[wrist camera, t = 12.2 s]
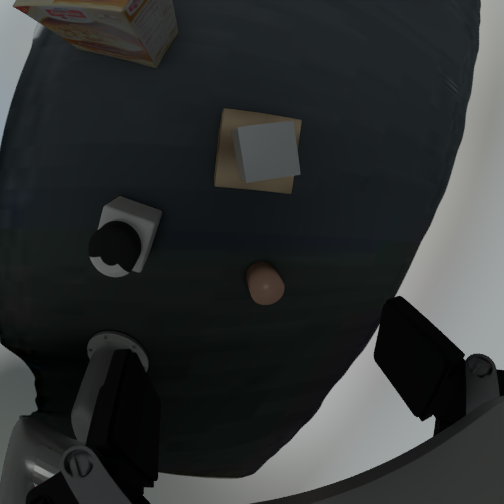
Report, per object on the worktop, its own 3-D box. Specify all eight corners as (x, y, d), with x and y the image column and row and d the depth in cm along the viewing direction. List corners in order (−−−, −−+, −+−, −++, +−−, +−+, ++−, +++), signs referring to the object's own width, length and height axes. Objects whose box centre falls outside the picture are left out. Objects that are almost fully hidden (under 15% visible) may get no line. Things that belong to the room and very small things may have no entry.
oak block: (281, 188, 41) (291, 193, 36) (213, 181, 38) (214, 186, 34) (290, 123, 37) (301, 120, 32) (221, 113, 35) (224, 108, 30)
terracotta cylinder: (276, 286, 46) (285, 301, 41) (247, 291, 45) (252, 307, 41) (274, 258, 44) (283, 272, 40) (243, 263, 44) (248, 278, 39)
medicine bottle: (119, 195, 36) (88, 214, 25) (163, 210, 38) (148, 236, 27) (107, 239, 38) (78, 272, 27) (149, 253, 40) (132, 292, 29)
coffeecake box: (76, 50, 26) (9, 7, 8) (99, 13, 24) (49, -45, 6) (156, 70, 31) (120, 12, 13) (180, 31, 29) (168, -44, 11)
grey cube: (284, 170, 35) (300, 174, 29) (239, 177, 34) (246, 183, 29) (278, 124, 32) (293, 120, 27) (231, 130, 32) (237, 127, 26)
